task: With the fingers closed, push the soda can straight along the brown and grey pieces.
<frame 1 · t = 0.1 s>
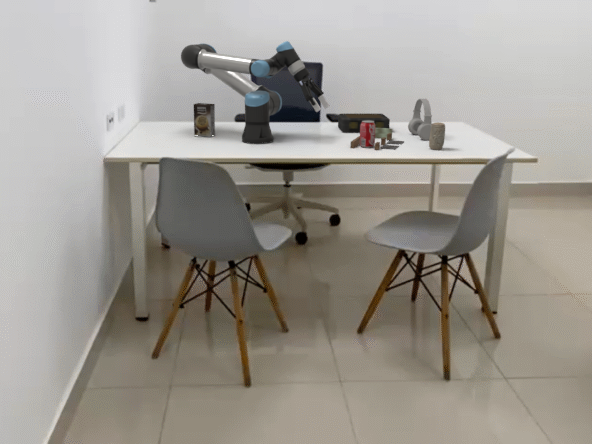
hand: (323, 109, 320), 15 cm above the table, tool tilted 35°, fingers open, 13 cm apart
soda can: (367, 147, 310), on the table
headphones: (420, 137, 336), on the table
carved cylinder: (436, 149, 307), on the table
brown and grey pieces: (371, 143, 318), on the table
coffee box: (204, 136, 334), on the table
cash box: (362, 130, 357), on the table
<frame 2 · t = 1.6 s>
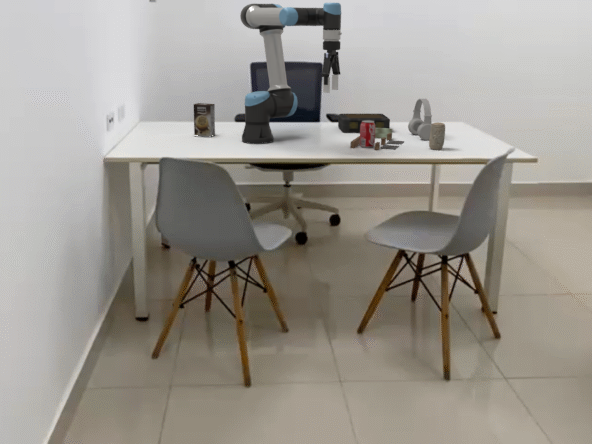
hand: (330, 91, 291), 27 cm above the table, tool pointing down, fingers open, 12 cm apart
nothing on the table moved.
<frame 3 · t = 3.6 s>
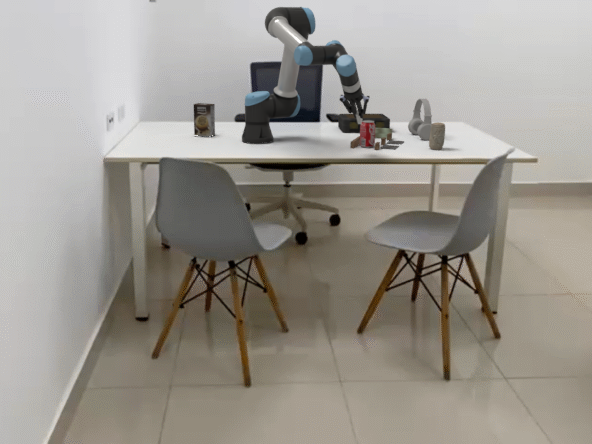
hand: (360, 121, 293), 14 cm above the table, tool tilted 45°, fingers closed
nothing on the table moved.
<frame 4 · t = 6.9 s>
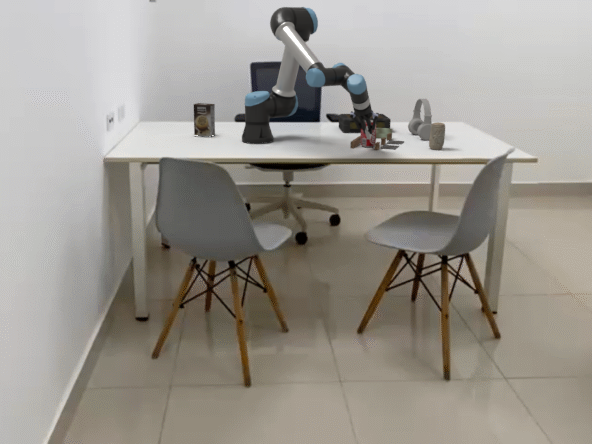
hand: (369, 137, 305), 5 cm above the table, tool tilted 45°, fingers closed
soda can: (367, 146, 311), on the table, touching gripper
everything else where it was.
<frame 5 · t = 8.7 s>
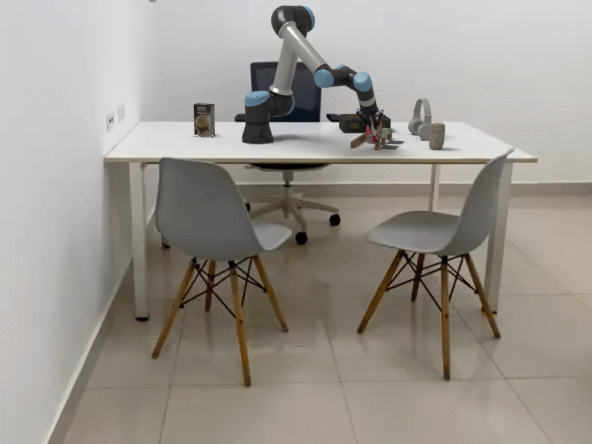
hand: (374, 133, 315), 5 cm above the table, tool tilted 45°, fingers closed
soda can: (373, 143, 320), on the table, touching gripper
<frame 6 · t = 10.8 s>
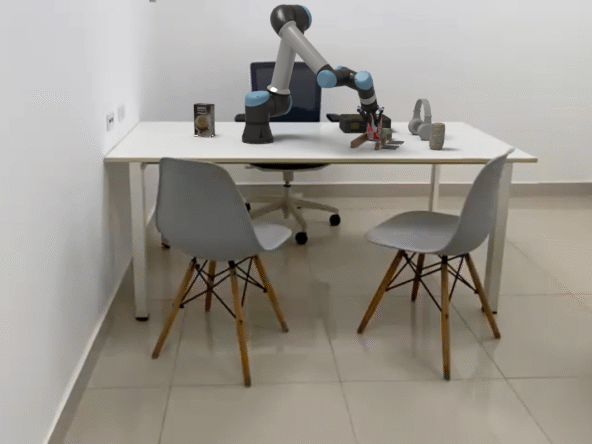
hand: (375, 130, 321), 6 cm above the table, tool tilted 45°, fingers closed
soda can: (374, 140, 327), on the table, touching gripper
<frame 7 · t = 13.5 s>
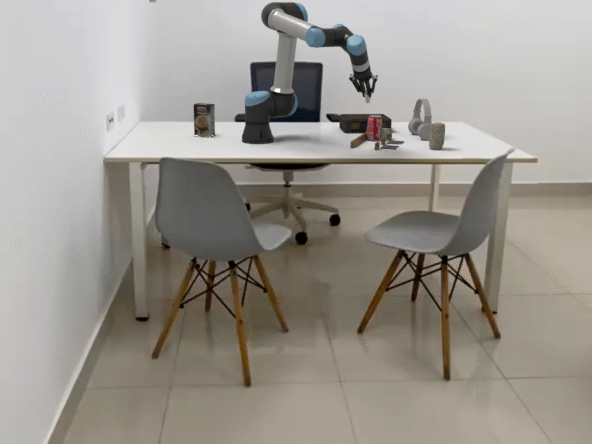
hand: (368, 100, 303), 21 cm above the table, tool tilted 45°, fingers closed
soda can: (373, 140, 327), on the table
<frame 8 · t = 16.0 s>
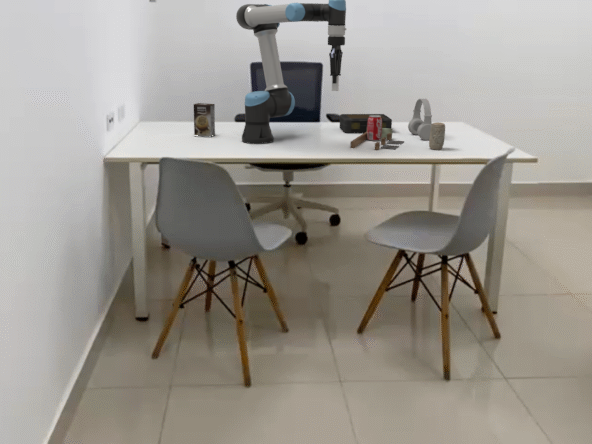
hand: (335, 90, 297), 26 cm above the table, tool pointing down, fingers closed
at the end: soda can inside the target area (1.0 cm from its centre), on the table; soda can tilted 0° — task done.
